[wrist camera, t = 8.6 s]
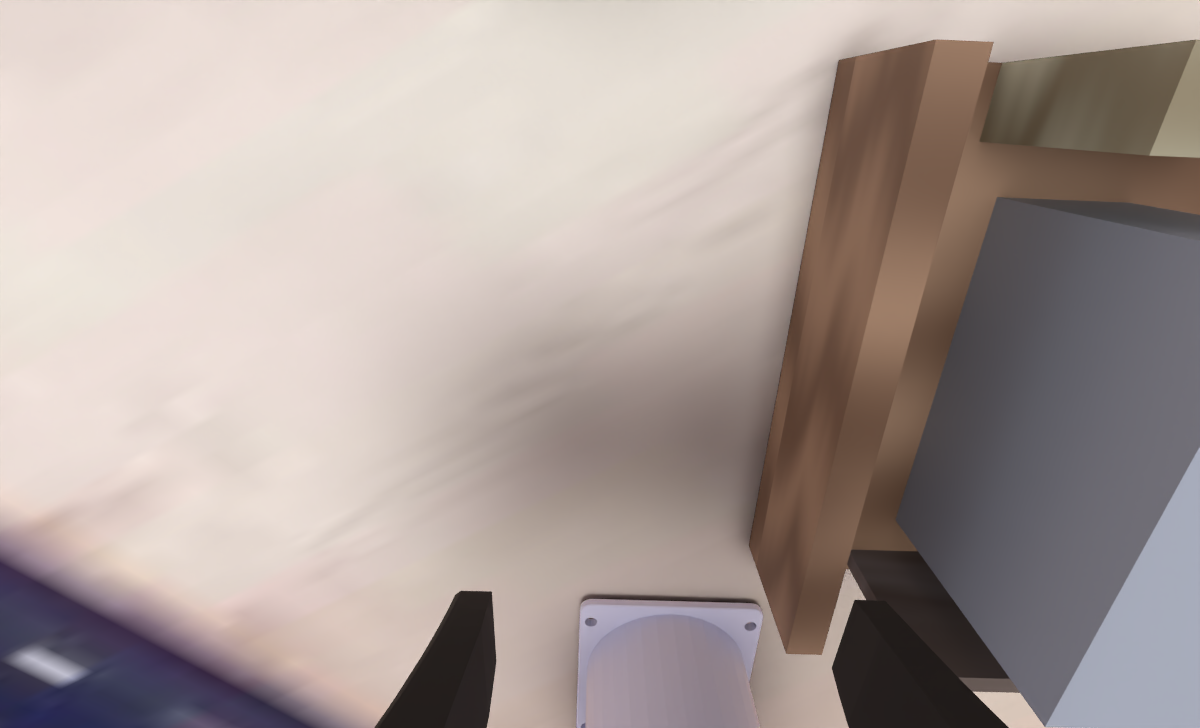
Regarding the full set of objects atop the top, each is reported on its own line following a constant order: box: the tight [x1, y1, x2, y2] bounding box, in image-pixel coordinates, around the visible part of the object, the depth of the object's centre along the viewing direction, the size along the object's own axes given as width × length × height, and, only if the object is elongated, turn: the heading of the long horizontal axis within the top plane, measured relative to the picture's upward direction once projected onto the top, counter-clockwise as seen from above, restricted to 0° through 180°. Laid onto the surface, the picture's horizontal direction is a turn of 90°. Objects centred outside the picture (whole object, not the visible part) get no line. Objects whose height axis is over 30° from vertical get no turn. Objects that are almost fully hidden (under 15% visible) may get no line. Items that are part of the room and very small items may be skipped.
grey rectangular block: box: [896, 197, 1200, 728], centre depth 16 cm, size 4×12×8 cm, turn 178°
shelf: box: [749, 40, 1200, 693], centre depth 17 cm, size 18×14×7 cm
